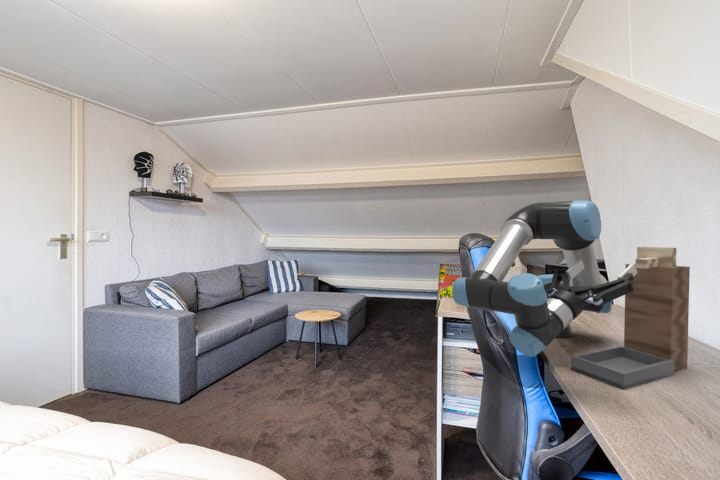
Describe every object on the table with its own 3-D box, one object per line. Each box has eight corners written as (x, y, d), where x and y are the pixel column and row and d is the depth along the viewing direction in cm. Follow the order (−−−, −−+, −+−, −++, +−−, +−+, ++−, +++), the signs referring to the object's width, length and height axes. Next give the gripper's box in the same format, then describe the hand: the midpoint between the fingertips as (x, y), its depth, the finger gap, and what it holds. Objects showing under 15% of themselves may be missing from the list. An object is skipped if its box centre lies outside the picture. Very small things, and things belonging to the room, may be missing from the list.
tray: (623, 389, 88) (624, 374, 88) (570, 369, 101) (571, 355, 101) (673, 374, 97) (674, 360, 97) (619, 358, 110) (619, 345, 110)
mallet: (659, 269, 93) (659, 249, 93) (623, 266, 100) (624, 247, 100) (676, 266, 102) (676, 247, 102) (642, 264, 109) (642, 246, 109)
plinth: (670, 373, 98) (672, 267, 97) (623, 358, 109) (625, 264, 108) (687, 368, 102) (689, 266, 101) (640, 354, 113) (642, 263, 112)
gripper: (523, 311, 100) (567, 272, 107) (617, 334, 77) (664, 283, 84) (514, 289, 98) (559, 251, 105) (607, 307, 75) (656, 256, 82)
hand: (606, 265), depth 95 cm, fingers open, 13 cm apart
